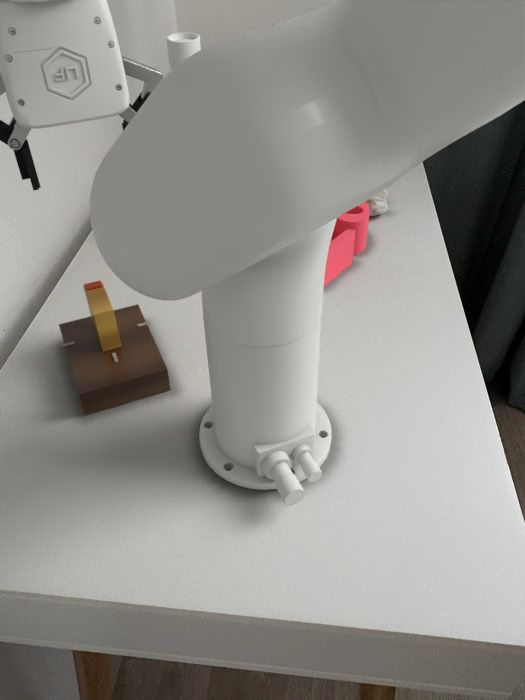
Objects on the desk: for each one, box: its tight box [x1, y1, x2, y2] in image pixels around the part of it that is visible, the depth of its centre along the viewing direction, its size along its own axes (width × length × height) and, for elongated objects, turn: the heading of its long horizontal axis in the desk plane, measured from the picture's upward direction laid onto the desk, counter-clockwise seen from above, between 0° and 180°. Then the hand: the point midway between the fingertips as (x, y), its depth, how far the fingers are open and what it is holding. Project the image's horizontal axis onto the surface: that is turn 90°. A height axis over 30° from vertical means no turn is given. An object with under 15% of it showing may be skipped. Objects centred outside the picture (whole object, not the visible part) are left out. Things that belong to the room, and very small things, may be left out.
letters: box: [324, 202, 370, 287], centre depth 83 cm, size 14×10×5 cm
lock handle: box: [82, 280, 121, 352], centre depth 66 cm, size 6×2×5 cm, turn 23°
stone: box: [365, 188, 390, 217], centre depth 94 cm, size 10×7×3 cm
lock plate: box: [58, 304, 172, 416], centre depth 68 cm, size 13×10×3 cm
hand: (86, 174), depth 61 cm, fingers open, 9 cm apart
